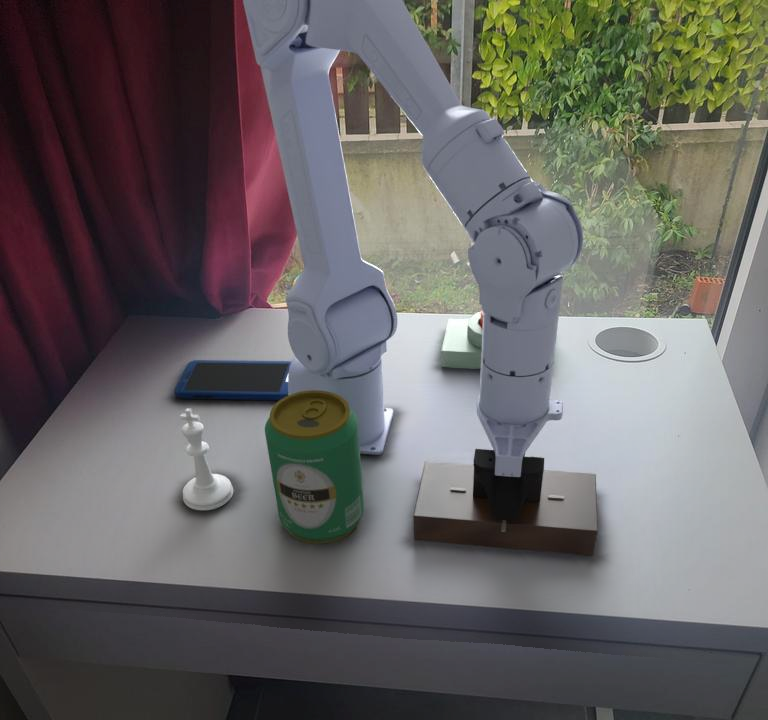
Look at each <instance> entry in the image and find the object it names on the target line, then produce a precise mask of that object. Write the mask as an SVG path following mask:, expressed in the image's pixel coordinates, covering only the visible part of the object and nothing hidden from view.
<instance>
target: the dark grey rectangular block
mask: <svg viewBox="0 0 768 720" xmlns="http://www.w3.org/2000/svg"><path fill="white" fill-rule="evenodd" d="M537 457H538V458H543V457H541V456H537ZM543 472H544V471H543ZM542 480H543V473H542V475H541V477H540V479H539V480H537V481H536V482H535V483H534V484H533V486H532V487H531V488H530V490H529V491H528V493H527V495H526V498H525V500H524V501H527V502H540V498H541V489H542ZM473 497H476V498H488V497H487V492H486V489H485V487H484V485H483V483H482V481H481V479H480V478H479V477H478V475H477V474H476V473H475V470H474V480H473Z"/></svg>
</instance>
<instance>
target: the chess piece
mask: <svg viewBox="0 0 768 720" xmlns="http://www.w3.org/2000/svg"><path fill="white" fill-rule="evenodd" d="M179 418H180V421H185V422H187V423H185V424H184V425H183V426H182V427H181V433H182V435H183V437H185V438H186V441H187V442H188V444H187V446H186V449H185V453H186V454H187V455H188V456H190V457H193V461H194V470H195V477H194V478H192V479H190V480H189V481H188V482H187V483H186V484H185V485H184V487H183V489H182V500H183V503H184V505H186V507H188V508H189V509H192V510H195V511H211V510H215V509H218V508H220V507H222V506H224V505H226V504H227V503H228V502H229V501H230V500H231V499H232V497H233V495H234V487H233V485H232V483H231V480H230V479H229V478H227V476H225V475H223V474H219V473H212V470H211V468H210V465H209V463H208V460H207V458H206V454H207V453H208V452H209V450H210V446H209V444H208V443H207V442H206V441H203V437H204V431H205V429H204V428H205V427H204V424H203V423H201V422H200V421H201V417H200V414H193V410H192V408H188V407H186V409H185V410H184V413H181V414H180V416H179Z"/></svg>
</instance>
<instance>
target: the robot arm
mask: <svg viewBox="0 0 768 720" xmlns="http://www.w3.org/2000/svg"><path fill="white" fill-rule="evenodd" d="M242 3H243V7H244V12H245V16H246V17H245V18H246V21H247V26H248V30H249V34H250V39H251V44H252V49H253V52H254V53H253V54H254V57H255V62H256V64H257V65H258V66H259V67H260V71H261V76H262V80H263V84H264V89H265V94H266V98H267V103H268V108H269V112H270V117H271V120H272V121H271V122H272V126H273V130H274V136H275V140H276V144H277V149H278V153H279V157H280V162H281V168H282V171H283V177H284V181H285V185H286V189H287V194H288V199H289V203H290V208H291V212H292V217H293V222H294V227H295V231H296V236H297V241H298V245H299V249H300V254H301V258H302V263H303V269H302V270H301V272H300V274H299V275H298V277H297V279H296V280H295V282H294V284H293V285H292V287H291V288H290V290H289V292H288V293H287V295H286V297H285V303H286V308H287V313H288V314H287V315H288V320H287V321H288V323H287V339H288V343H289V346H290V348H291V351H292V353H293V357H292V359H291V360H290V361H291V364H290V369H289V376H288V395H291V394H294V393H297V392H302V391H309V390H319V391H327V392H331V393H334V394H337V395H339V396H341V397H342V398H343V399H345V400H346V402H347V403H348V405H349V408H350V409H351V410H352V411H353V412H354V413H355V415H356V417H357V421H358V432H359V446H360V455H377V456H378V455H382V454H383V452H384V449H385V445H386V441H387V438H388V436H389V435H388V434H389V431H390V427H391V423H392V420H393V417H394V409H393V408H390V407H385V400H384V397H385V396H384V380H383V379H384V376H383V355H384V354H385V353H386V352H387V341H389V340H390V339H392V338H393V337H394V335H395V334H396V331H397V328H398V314H397V308H396V305H395V303H394V300H393V298H392V297H391V296H390V293H389V291H388V287H387V285H386V281H385V275H384V271H383V270H381V269H380V268H378V267H377V266H375V265H373V264H371V263H369V262H367V261H366V260H364V259H363V258H362V254H361V249H360V243H359V237H358V232H357V228H356V222H355V216H354V210H353V204H352V198H351V194H350V188H349V182H348V177H347V176H348V175H347V171H346V164H345V159H344V154H343V153H344V152H343V148H342V142H341V137H340V133H339V132H340V131H339V126H338V125H339V124H338V120H337V115H336V107H335V103H334V97H333V93H332V87H331V82H330V76H329V72H330V69H331V67H332V66H333V63H334V62H335V60H336V58H337V57H338V55H339V53H340V51H341V52H343V51H344V52H348V53H354V54H357V55H358V56H359V58H360V59H361V60H362V62H363V63H364V64H365V65H366V67H367V68H368V69H369V71H370V72H371V73H372V75H374V77H375V78H376V79H377V81H378V82H379V83H380V84H381V86H382V87H383V89H385V91H386V92H387V93H388V95H389V96H390V97H391V99H392V100H393V101H394V102H395V104H396V105H397V106H398V107H399V109H400V110H401V111H402V113H403V114H404V115H405V116H406V118H407V119H408V120H409V122H410V123H411V124H412V125H413V126H414V127H415V129H416V130H417V132H418V133H419V134H420V136H421V137H422V145H421V154H420V164H421V167H422V168H423V169H424V171H425V172H426V173H427V175H428V177H429V178H430V180H431V181H432V183H433V184H434V186H435V187H436V188H437V190H438V192H439V193H440V194H441V196H442V198H443V199H444V201H445V202H446V204H447V205H448V206H449V208H450V209H451V211H452V213H453V214H454V216H455V217H456V218H457V220H458V221H459V224H460V225H461V226H462V228H463V229H464V230H465V232H466V234H467V236H469V238H470V240H471V241H472V243H473V245H472V246H471V247H469V248H467V258H468V264H469V267H470V270H471V273H472V275H473V277H474V279H475V281H476V283H477V286H478V291H479V301H478V302H479V304H478V305H481V311H482V310H483V331H482V353H481V369H480V375H479V394H478V395H479V396H478V398H477V400H476V408H475V409H476V415H477V418H478V420H479V423H480V424H481V426H482V428H483V430H484V432H485V435H486V436H487V438H488V441H489V443H490V445H491V447H492V449H486V448H485V449H484V448H475V449H474V455H473V464H472V465H474V470H475V473H476V474H477V475H478V477H479V478H480V479H481V481H482V483H483V485H484V487H485V489H486V492H487V497H488V502H489V507H490V512H491V515H492V518H493V519H494V520H506V521H516V520H517V518H518V516H519V514H520V511H521V509H522V506H523V503H524V500H525V498H526V495H527V493H528V491H529V490H530V488H531V487H532V486H533V484H534V483H535V482H536V481H537V480H539V479H540V477H541V475H542V473H543V471H544V470H545V457H542V458H538V457H539V456H525V455H526V452H527V451H528V449H529V448H530V446H531V445H532V444H533V442H534V441H535V439H536V438H537V437H538V435H539V434H540V432H541V431H542V429H543V428H544V427H545V426H546V424H547V423H548V422H549V421H559V420H560V421H561V420H562V418H563V413H564V404H563V402H562V401H561V400H558V399H550V398H551V389H552V388H551V387H552V381H553V372H554V364H555V363H554V362H555V361H554V360H555V354H556V346H557V345H556V344H557V336H558V328H559V318H560V310H561V300H562V292H563V283H564V275H562V273H564V272H566V271H567V270H568V269H569V268H570V267H572V266H573V265H574V264H575V263H576V262H577V260H578V259H579V257H580V255H581V252H582V250H583V245H584V232H583V227H582V223H581V220H580V218H579V216H578V214H577V212H576V211H575V207H574V204H573V203H572V202H571V201H570V200H569V199H568V198H566V197H565V196H563V195H561V194H559V193H556V192H555V191H549V190H548V189H546V187H545V186H544V185H543V184H542V183H541V182H540V183H538V182H537V181H533V179H532V178H531V176H530V175H529V173H528V172H527V170H526V168H525V167H524V165H523V164H522V162H521V161H520V160H519V158H518V157H517V155H516V154H515V152H514V150H513V149H512V147H511V146H510V144H509V143H508V142H507V140H506V138H505V137H504V134H505V130H504V129H503V127H502V126H501V123H500V122H499V121H498V120H497V118H495V117H491V116H490V115H489V113H488V112H487V111H486V110H485V109H482V108H474V107H469V106H465V105H463V104H462V103H461V101H460V99H459V98H458V95H456V93H455V91H454V89H453V86H451V84H450V82H449V80H448V79H447V76H446V75H445V74H444V73H445V72H444V71H443V70H442V68H441V66H440V64H439V63H438V61H437V59H436V56H434V54H433V52H432V50H431V48H430V47H429V45H428V43H427V41H426V40H425V38H424V35H423V34H422V32H421V31H420V29H419V27H418V25H417V23H416V22H415V20H414V18H413V16H412V15H411V13H410V11H409V9H408V8H407V6H406V4H405V3H404V0H242ZM560 274H561V275H560Z"/></svg>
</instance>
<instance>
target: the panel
mask: <svg viewBox="0 0 768 720" xmlns="http://www.w3.org/2000/svg"><path fill="white" fill-rule="evenodd" d="M423 464H424V465H423V469H422V474H421V478H420V483H419V488H418V492H417V496H416V501H415V506H414V511H413V515H412V519H413V520H412V525H413V540H414V541H418V542H419V541H420V542H428V543H429V542H430V543H442V544H454V545H465V546H474V547H475V546H476V547H485V548H486V547H488V548H496V549H497V548H498V549H499V548H500V549H511V550H520V551H521V550H523V551H532V552H533V551H534V552H544V553H555V554H556V553H557V554H566V555H577V556H578V555H579V556H591V557H593V556H594V555H595V550H596V544H597V538H598V533H599V524H598V522H599V521H598V499H597V474H596V473H592V472H591V473H590V472H576V471H562V470H552V469H551V470H549V469H544V472H543V480H542V489H541V498H540V502H527V501H524V503H523V506H522V509H521V511H520V514H519V516H518V518H517V520H516V521H506V520H494V519H493V518H492V515H491V512H490V507H489V502H488V498H476V497H473V480H474V465H473V464H469V463H468V464H467V463H451V462H439V461H426V460H425V461H424V463H423Z"/></svg>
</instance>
